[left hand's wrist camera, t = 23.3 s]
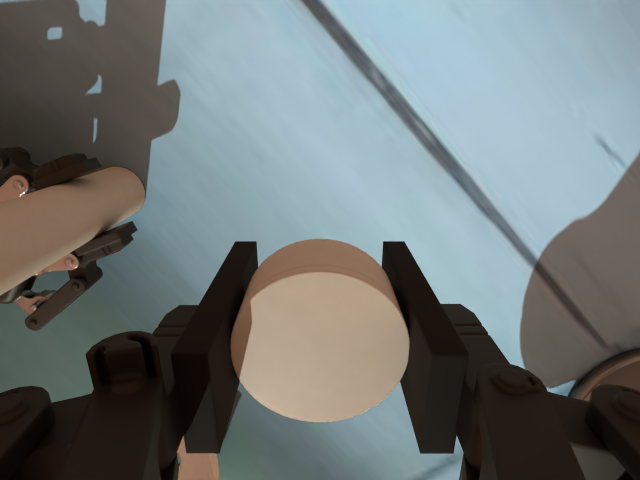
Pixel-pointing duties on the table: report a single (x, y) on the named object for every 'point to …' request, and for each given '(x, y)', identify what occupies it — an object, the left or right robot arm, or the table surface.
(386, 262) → the left robot arm
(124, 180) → the slender beige bottle
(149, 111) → the table surface
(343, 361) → the lid
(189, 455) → the skull bowl
